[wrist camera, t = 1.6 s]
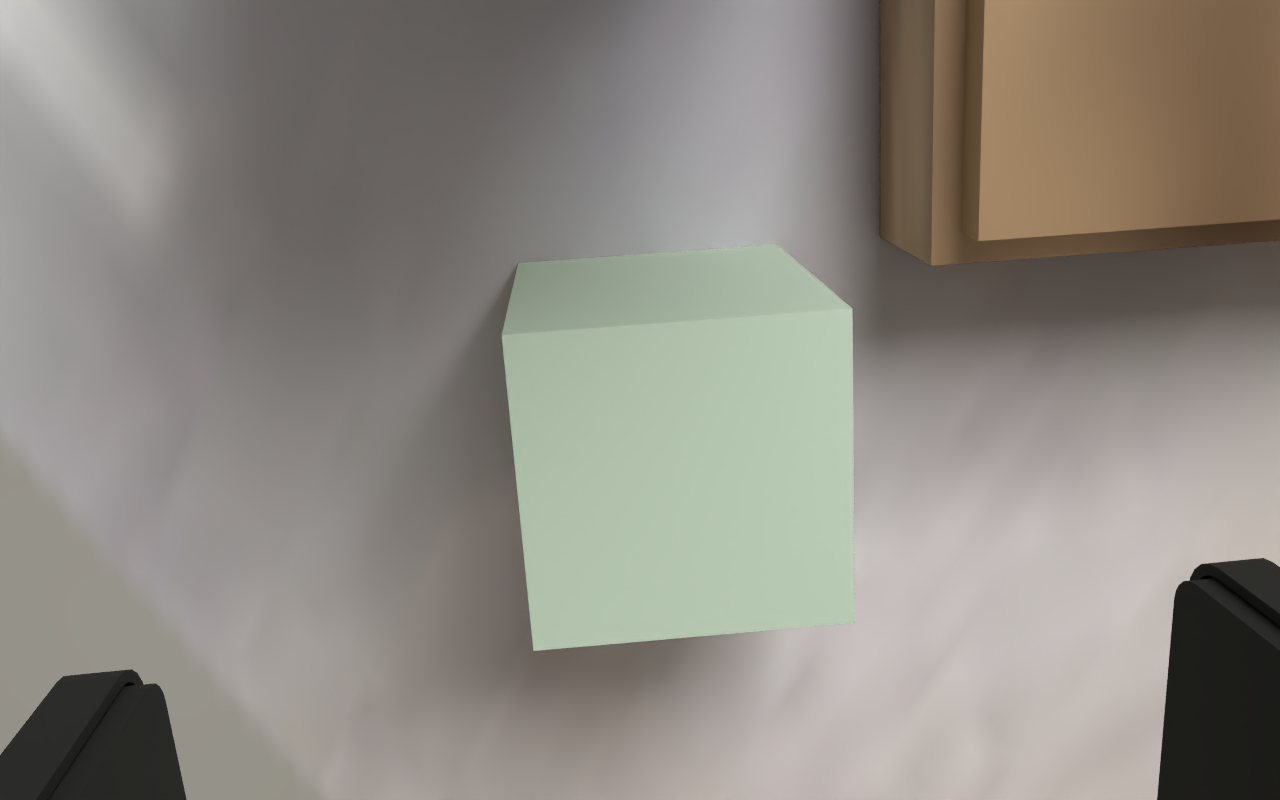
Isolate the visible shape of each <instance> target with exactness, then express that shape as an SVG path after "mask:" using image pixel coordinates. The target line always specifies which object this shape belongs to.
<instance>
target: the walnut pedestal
mask: <svg viewBox="0 0 1280 800" xmlns="http://www.w3.org/2000/svg"><path fill="white" fill-rule="evenodd" d="M880 237H881V238H883V239H884V240H886V241H888V242H890V243H891V244H893V245H895V246H897V247H899V248H900V249H902V250H904V251H906V252H907V253H909V254H911V255H913V256H915V257H916V258H918V259H920V260H922V261H923V262H925V263H927V264H929V265H931V266H937V265H950V264H964V263H978V262H991V261H1005V260H1019V259H1032V258H1046V257H1059V256H1073V255H1087V254H1100V253H1114V252H1127V251H1141V250H1155V249H1168V248H1182V247H1196V246H1209V245H1223V244H1236V243H1250V242H1264V241H1277V240H1280V0H880Z"/></svg>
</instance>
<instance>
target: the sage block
mask: <svg viewBox="0 0 1280 800" xmlns="http://www.w3.org/2000/svg"><path fill="white" fill-rule="evenodd" d="M502 345H503V355H504V365H505V375H506V384H507V394H508V404H509V414H510V424H511V434H512V444H513V454H514V464H515V474H516V484H517V493H518V503H519V513H520V523H521V533H522V543H523V553H524V563H525V573H526V583H527V593H528V602H529V612H530V622H531V632H532V642H533V651H539V650H550V649H562V648H573V647H585V646H596V645H608V644H619V643H630V642H642V641H653V640H665V639H676V638H687V637H699V636H710V635H722V634H733V633H745V632H756V631H767V630H779V629H790V628H802V627H813V626H825V625H836V624H847V623H855V596H854V456H853V316H852V308H851V307H850V306H849V305H848V304H847V303H845V302H844V301H843V300H842V299H841V298H840V297H838V296H837V295H836V294H835V293H834V292H833V291H831V290H830V289H829V288H828V287H827V286H826V285H824V284H823V283H822V282H821V281H820V280H819V279H817V278H816V277H815V276H814V275H813V274H812V273H810V272H809V271H808V270H807V269H806V268H805V267H803V266H802V265H801V264H800V263H799V262H798V261H796V260H795V259H794V258H793V257H792V256H791V255H789V254H788V253H787V252H786V251H785V250H784V249H782V248H781V247H780V246H779V245H778V244H771V245H757V246H743V247H730V248H716V249H702V250H688V251H674V252H660V253H647V254H633V255H619V256H605V257H591V258H577V259H564V260H550V261H536V262H522V263H518V266H517V271H516V275H515V279H514V284H513V288H512V292H511V296H510V301H509V305H508V309H507V314H506V318H505V322H504V326H503V331H502Z"/></svg>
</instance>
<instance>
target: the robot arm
mask: <svg viewBox="0 0 1280 800" xmlns="http://www.w3.org/2000/svg"><path fill="white" fill-rule="evenodd" d="M0 800H186V795H185V791H184V786H183V781H182V777H181V772H180V767H179V762H178V758H177V753H176V748H175V743H174V739H173V734H172V729H171V724H170V720H169V715H168V711H167V706H166V701H165V698H164V694H163V692H162V690H161V688H160V686H158V685H157V684H146V685H143V682H142V680H141V678H140V677H139V675H138V673H136V672H135V671H133V670H121V671H111V672H101V673H91V674H81V675H71V676H64V677H62V678H61V679H60V680H59V681H58V682H57V683H56V684H55V685H54V687H53V688H52V689H51V691H50V692H49V693H48V694H47V696H46V697H45V698H44V699H43V701H42V702H41V703H40V705H39V706H38V707H37V709H36V710H35V711H34V712H33V714H32V715H31V716H30V718H29V719H28V720H27V721H26V723H25V724H24V725H23V727H22V728H21V729H20V730H19V732H18V733H17V734H16V736H15V737H14V738H13V739H12V741H11V742H10V744H9V745H8V746H7V747H6V749H5V750H4V751H3V752H2V754H1V755H0ZM1157 800H1280V567H1279V566H1277V565H1276V564H1274V563H1273V562H1271V561H1269V560H1266V559H1264V558H1261V559H1249V560H1239V561H1228V562H1218V563H1208V564H1201V565H1200V566H1198V567H1197V568H1196V569H1195V570H1194V572H1193V574H1192V575H1191V577H1190V581H1184V582H1182V583H1181V584H1180V585H1179V586H1178V588H1177V590H1176V593H1175V598H1174V609H1173V621H1172V632H1171V644H1170V656H1169V668H1168V679H1167V691H1166V703H1165V715H1164V727H1163V738H1162V750H1161V762H1160V774H1159V786H1158V797H1157Z"/></svg>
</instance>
